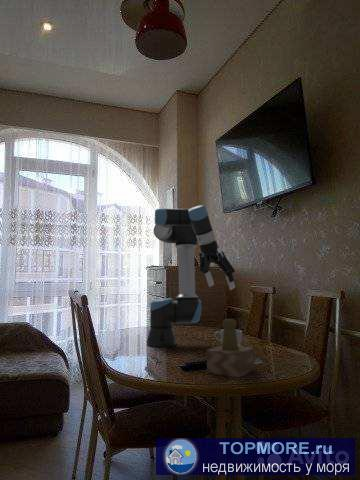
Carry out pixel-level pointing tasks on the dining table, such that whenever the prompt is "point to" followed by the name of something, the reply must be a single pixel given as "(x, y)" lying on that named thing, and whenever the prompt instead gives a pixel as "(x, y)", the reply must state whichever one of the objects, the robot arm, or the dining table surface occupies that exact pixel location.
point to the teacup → (238, 335)
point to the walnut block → (230, 361)
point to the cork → (229, 335)
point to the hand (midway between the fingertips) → (221, 287)
